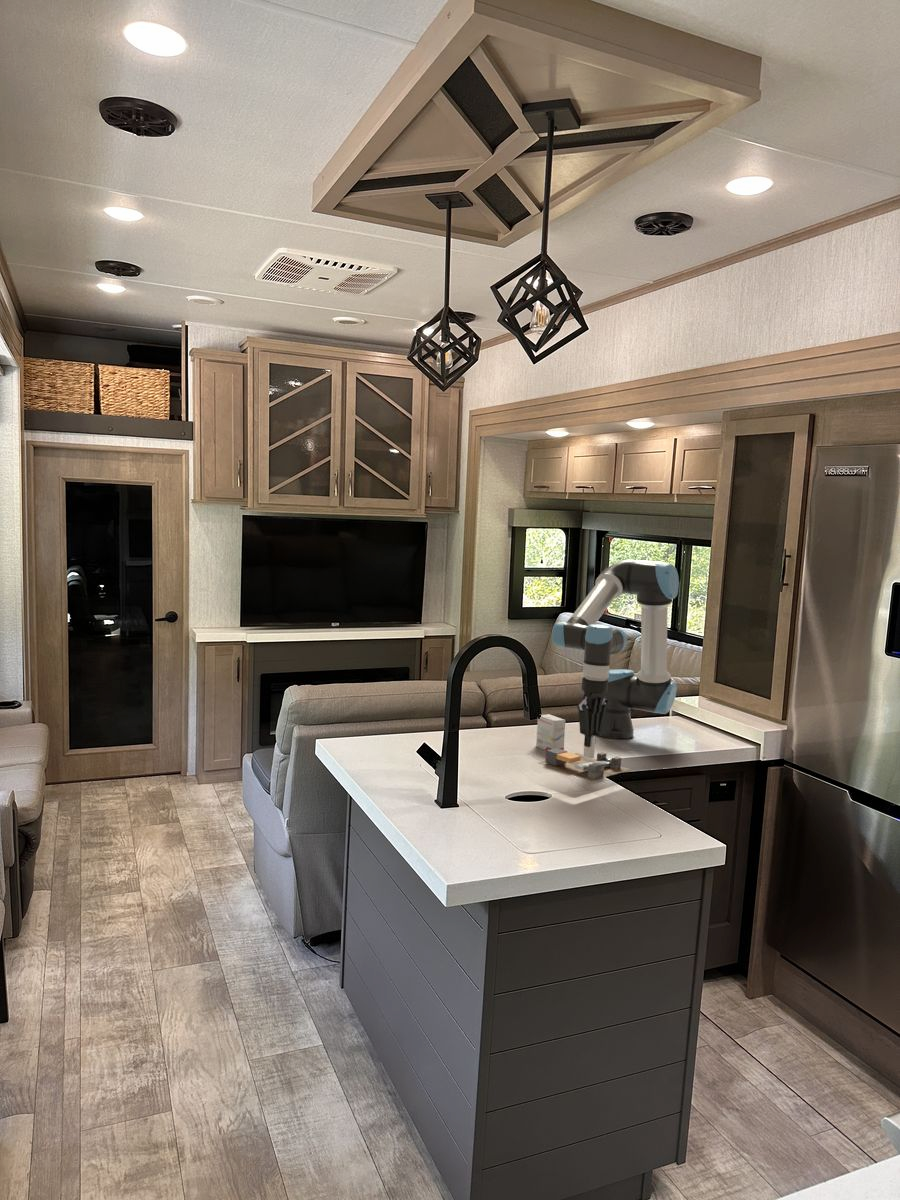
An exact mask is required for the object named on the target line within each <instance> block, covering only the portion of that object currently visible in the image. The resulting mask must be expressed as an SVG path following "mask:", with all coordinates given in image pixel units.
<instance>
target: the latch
mask: <svg viewBox="0 0 900 1200" xmlns="http://www.w3.org/2000/svg"><path fill="white" fill-rule="evenodd" d="M580 759H581V756H579V755H576V754H575V753H573V752H569V751H567V750H565V749H564V750H562V749H558V748H555V749H550V750H545V761H546V762H545V763H548V764H551V765H554V766H559V765H562V764H566V762H568V763H573V762H577V761H580Z"/></svg>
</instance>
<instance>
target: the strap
mask: <svg viewBox="0 0 900 1200" xmlns="http://www.w3.org/2000/svg"><path fill="white" fill-rule="evenodd" d="M597 762H600V763H604V767H609V766H611V765H612V758H611V759H610V758H607V757H606V758H604V759H603V761H596V762H590V763H583V764H576V765H575V768H576V769H579V770H582V771H585V770H588V766H589V765H590V764H593V763H597Z"/></svg>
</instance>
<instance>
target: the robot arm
mask: <svg viewBox="0 0 900 1200" xmlns="http://www.w3.org/2000/svg"><path fill="white" fill-rule="evenodd" d="M679 580H680V579H679V573H678V571H677V568H676V567H675V565H674V564H672V563H669V562H663V561H656V560H655V561H653V560H641V559H631V558H629V559H624V560H620V561H618V562H615V563H613V564H611V565H610V566H607V568H605V569H604V570H603V571H602V572H601V573H600V574H598V577H596V579H595V582H594V587H592V589H591V590H590V591H589V593H588V594H587V595H586V596H585V598H584V599H583V600H582V602H581V603H580V605H579V606H578V607H577V609H576V610H574V613H573V614H572V615H571V616H570V618H569V619H567V621H566V622H565V621H558V622H555V623H554V625H553V627H552V630H551V641H552V643H553V644H554V646H557V647H563V648H564V649H567V648H568V649H572V650H573V649H574V650H582V651H584V653H583V654H584V655H583V665H582V666H583V667H582V676H583V677H582V678H581V690H582V691H583V696H582V701H581V702H578V703H577V704H576V707H577V710H578V719H579V720H578V722H579V733H580V734H582V735H583V736H584V738H583V739H584V742H583V755H584V756H585V757H588V758H595V750H596V741H597V736H598V737H604V738H608V739H614V738H628V739H630V738H629V737H632V736H633V737H634V732H635V731H634V729H635V728H634V725H633V720H632V718H631V709H632V710H639V711H644V712H647V713H648V712H649V713H653V714H661V715H665V714H667V713H669V712H670V711H671V709H672V707H673V706H674V703H675V699H676V697H677V696H676V695H677V691H678V688H677V687H678V685H677V682H675V681H672V675H671V672H669V671H668V670H667V668H668V666H667V665H668V664H667V663H668V662H667V661H668V607H669V606H670V605H671V604H672V603H673V600H674V599H675V598H677V597H678V594H679V587H680V581H679ZM622 594H628V595H635V596H636V602H637V604H639V605H640V606H641V610H640V611H641V612H640V613H641V617H640V620H641V621H640V622H641V624H640V627H641V628H640V631H641V633H640V638H641V639H640V646H641V647H640V649H641V650H640V670H639V671H638V672H637V673H636V675H635V671H634V670H632V669H621V668H619V669H610V668H611V667H610V665H611V662H610V661H611V655H614V654H619V653H620V652H621V651H623V650H624V649H625V648H626V646H627V645H628V637H627V634H626V633H625V631H624V630H622V629H621V628H618V627H611V626H609V625H607V624H597V623H598V621H599V620H600V618H601V617H602V615H604V613H605V612H606V610H608V608H609V606H610V605H611V603H612V602H613V601H614V600H615V599H618V598H619V597H620V596H621V595H622ZM633 737H632V738H633Z"/></svg>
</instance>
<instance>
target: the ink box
mask: <svg viewBox="0 0 900 1200" xmlns="http://www.w3.org/2000/svg"><path fill="white" fill-rule="evenodd" d="M540 715H541V717H540V719H538V718H537V725H536V726H537V727H536V742H535V743H536V744H535V747H537V748H540V749H541V750H544V751H546V750H550V749H555V748H558V749H562V750H565V734H566V733H565V732H566V731H565V730H566V719H563V718H561V717H557V716H556V715H552V714H549V713H548V714H540Z"/></svg>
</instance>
